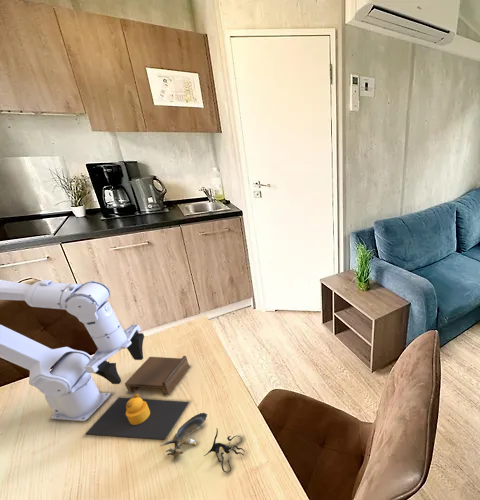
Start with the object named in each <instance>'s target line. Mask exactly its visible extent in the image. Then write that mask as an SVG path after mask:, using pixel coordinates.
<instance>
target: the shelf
mask: <svg viewBox="0 0 480 500" xmlns="http://www.w3.org/2000/svg"><path fill="white" fill-rule="evenodd" d="M189 369H190V365H189V360H188V358H187V356H186V355H183V356H182V357H164V356H149V357H148V358H147V359H146V360H145V361H144V362H143V363H142V364H141V365H140V366H139V367H138V369H136V371H135V372H134V373H132V375H131V376H130V377H129V378H128V379H127V380H126V381H125V382H124V386H125V388H126V390H127V392H128V393H134V391H135V390H136V389H137V388H149V389H151V388H152V389H162V391H163V393H164V395H165V396H170V395H171V393H172V391H173V390H174V389H175V388H176V387H177V385H178V384H179V382H180V381H181V379H182V378H183V377H184V375H185V374H186V372H188V370H189Z"/></svg>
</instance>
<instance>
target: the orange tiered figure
mask: <svg viewBox="0 0 480 500" xmlns="http://www.w3.org/2000/svg"><path fill="white" fill-rule="evenodd" d="M130 398H131V399H130V400H129V401H128V402H127V404H126V409H127V411H126V416H127V418H128V420H129V422H130V424H132V425H137V424H140V423H142V422H144V421H145V420H146V419H147V418H148V417H149V415H150V410H149V408H148V405H147V403H146V402H145V401H143V400H142V399H143V398H142V397H140V393H135V394H133V397H130Z"/></svg>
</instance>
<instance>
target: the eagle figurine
mask: <svg viewBox="0 0 480 500" xmlns="http://www.w3.org/2000/svg"><path fill="white" fill-rule="evenodd" d="M207 417H208V413H206V412H200V413H198V414H195V415H194V416H192V417H191V418H189V419H188V420H187V421H185V422H184V423H183V424H182V425H181V426H180V427H179V428H178V429H177V432H176V433H175V434H174V435H173V437H172V438H171V439H169V440H167V441H165V442H163V443H160V444H159V446H160V447H162V446H169V445H171V444H174V449H173V448H171V447H170V448H169V449H166V450H165V453H166V456H173V459H174V460H176V459H177V458H178V457H179V455H182V454H184V451H183V450H180V449H181V446H186V445H194V446H196V445H197V443H196V441H195V439H193V438H190V436H191V435H192V433H193V432H195V431H196V430H198V429H200V428H202V427H203V423H204V422H206V420H207ZM168 452H169V453H168Z"/></svg>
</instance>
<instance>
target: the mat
mask: <svg viewBox="0 0 480 500" xmlns="http://www.w3.org/2000/svg"><path fill="white" fill-rule="evenodd" d="M131 398H132V397H118V398H117V399H116V400H115V401H114V402H113V403H112V404H111V405H110V406H109V407H108V409H106V411H105V412H104V413H103V414H102V415H101V416H100V417H99V418H98V420H96V422H95V423H94V424H93V425H92V426H91V427H90V428H89V429H88V431H87V432H86V433H85V434H86V435H88V436H89V435H91V436H103V437H116V438H117V437H118V438H128V439H129V438H131V439H144V440H159V441H165V440H166V439H167V437H168V436H169V434H170V433H171V431H172V430H173V428H174V426H175V425H176V424H177V422H178V420H179V419H180V417H181V416H182V414H183V413H184V411H185V410H186V408H187V406H188V405H189V401H179V400H165V399H163V400H162V399H149V398H141V399H142V400H143V401H145V402H146V403H147V405H148V408H149V410H150V415H149V417H148V418H147V419H146V420H145V421H144V422H142V423H140V424H137V425H132V424H130V422H129V420H128V418H127V416H126V411H127V409H126V404H127V402H128V401H129V400H130V399H131Z"/></svg>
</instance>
